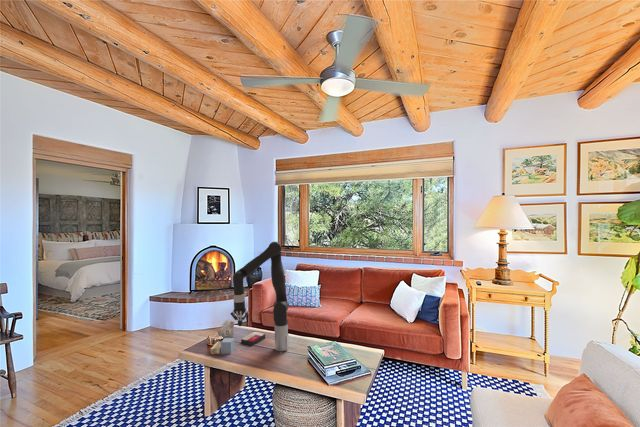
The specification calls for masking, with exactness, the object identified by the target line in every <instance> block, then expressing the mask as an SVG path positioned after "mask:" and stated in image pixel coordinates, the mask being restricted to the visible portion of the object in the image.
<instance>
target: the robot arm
mask: <svg viewBox="0 0 640 427" xmlns="http://www.w3.org/2000/svg"><path fill="white" fill-rule="evenodd" d="M268 260H270V264H271V266H270V275H271V284H272V287H273V289H274V291H275V297H276V298H275V300H276V301H275V304H274V306H273V308H272V309H273V310H272V311H273V321H274V350H275V351H276V352H284V351H288V349H289V343H290V342H289V340H290V339H289V333H288V332H289V331H288V330H289V325H288V324H289V323H288V321H289V320H288V319H287V318H288V317H287V312H288V309H289V301H288V297H287V293H286V292H287V291H286V278H285V270H284V267H283V266H284V265H283V263H282V245H281V243H279V242H278V241H272V242H271V243H269V245H268V247H267V248H265V250H264V251H263V252H261V253H260V254H259V255H258V256H256V257H254V258H253V259H251V260H250V261H248V262H247V263H246V264H244V266H243V267H241V268H239V269H238V270H237V271H235V273H234V274H233V276H232V283H233V310H232V312H230V315H231V317H232V318H233V320H234V321H237V325H238V327H242V326H243V321H244V320H246V318H247V316H248V315H249V314H250V311H247V309H246V296H245V287H244V279H245V278H246V277H247V276H249V275H251V274H252V273H253V272H255V271H256V270H257V269H258V268H260V267H261V266H262V265H263V264H265V262H267V261H268ZM244 314H245V315H244Z"/></svg>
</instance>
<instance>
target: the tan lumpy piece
mask: <svg viewBox="0 0 640 427" xmlns="http://www.w3.org/2000/svg"><path fill="white" fill-rule="evenodd" d="M210 354H211V355H221V341H216V343H214V345H212V347H210Z"/></svg>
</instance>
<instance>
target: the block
mask: <svg viewBox="0 0 640 427" xmlns="http://www.w3.org/2000/svg"><path fill="white" fill-rule="evenodd" d="M220 342H221V353H220V355H232V353H233V352H234V351H235V337H231V338H224V339H223V340H220Z"/></svg>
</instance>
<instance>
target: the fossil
mask: <svg viewBox="0 0 640 427" xmlns="http://www.w3.org/2000/svg"><path fill="white" fill-rule="evenodd" d="M217 334H218V335H219V336H222V337H223V339H224V338H233V336H234V335H235V319H227V320H225V322H224V323H222V325H221V327H220V328H219V330H218V331H217ZM218 335H217V336H218Z"/></svg>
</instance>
